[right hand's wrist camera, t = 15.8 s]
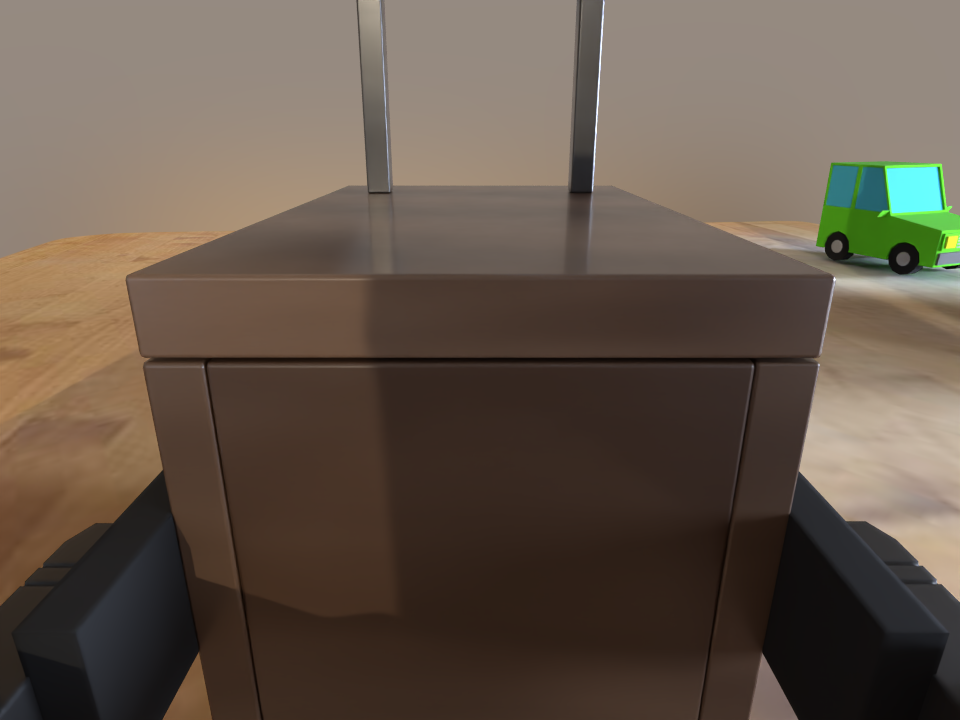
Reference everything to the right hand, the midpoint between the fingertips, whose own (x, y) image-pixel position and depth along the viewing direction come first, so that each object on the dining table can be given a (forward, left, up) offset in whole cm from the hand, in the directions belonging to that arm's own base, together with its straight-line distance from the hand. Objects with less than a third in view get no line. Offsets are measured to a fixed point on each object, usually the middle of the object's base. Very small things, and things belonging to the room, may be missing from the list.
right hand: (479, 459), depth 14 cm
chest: (0, -3, -7) cm, 7 cm away
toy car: (-34, -59, -7) cm, 69 cm away
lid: (+1, -3, +4) cm, 5 cm away
